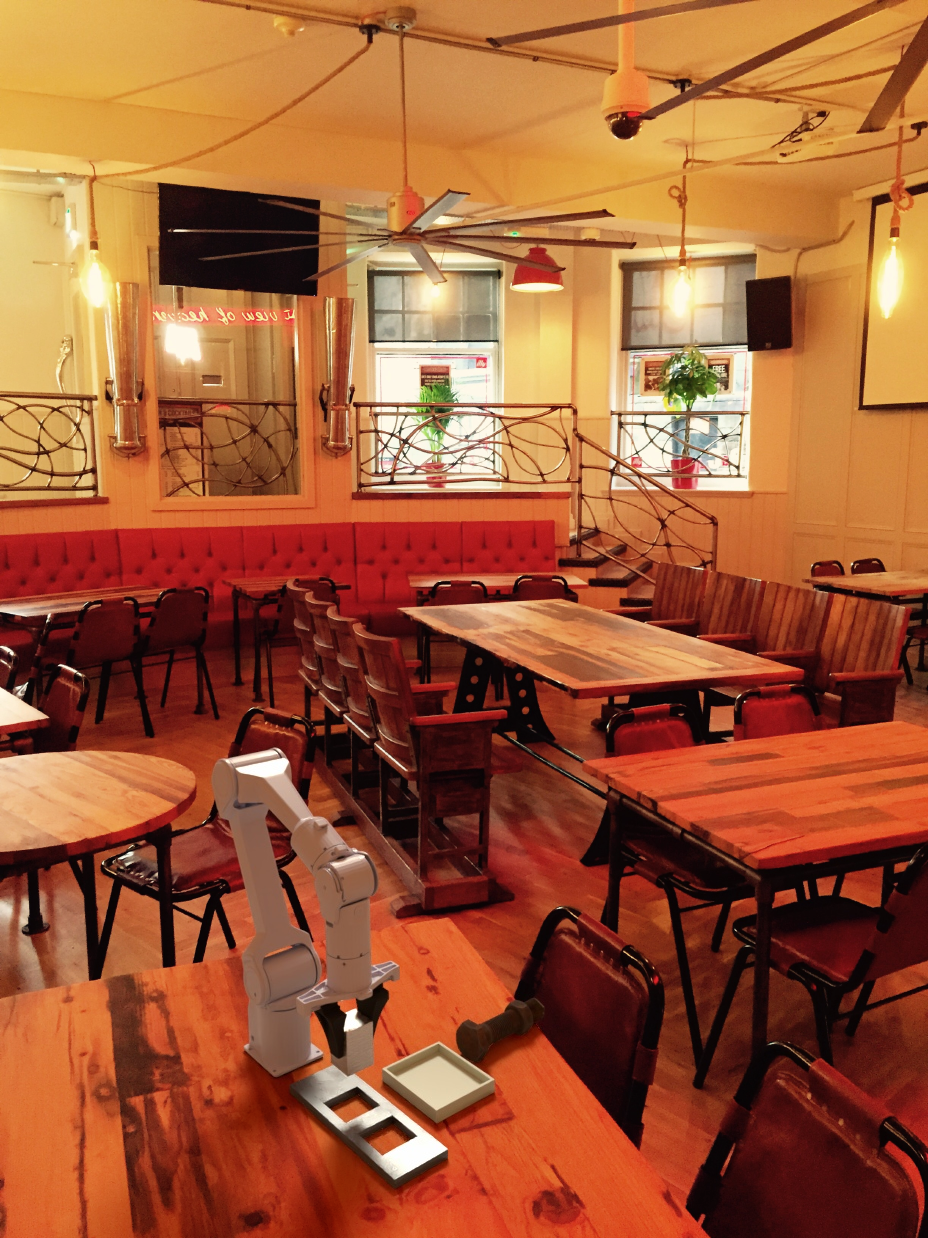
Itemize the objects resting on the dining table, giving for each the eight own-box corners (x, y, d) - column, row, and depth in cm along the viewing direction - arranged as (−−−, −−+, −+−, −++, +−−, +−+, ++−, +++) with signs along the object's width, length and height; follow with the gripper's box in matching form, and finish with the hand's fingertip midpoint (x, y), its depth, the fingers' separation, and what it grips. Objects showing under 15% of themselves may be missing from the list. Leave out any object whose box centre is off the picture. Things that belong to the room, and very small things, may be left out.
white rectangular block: (330, 1063, 127) (329, 1019, 126) (356, 1051, 129) (355, 1009, 128) (347, 1077, 124) (346, 1032, 123) (373, 1064, 126) (372, 1021, 125)
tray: (382, 1081, 134) (382, 1068, 134) (439, 1053, 141) (438, 1041, 140) (436, 1123, 125) (436, 1110, 125) (494, 1092, 131) (494, 1079, 131)
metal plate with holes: (289, 1093, 132) (289, 1085, 132) (340, 1070, 137) (339, 1062, 137) (394, 1189, 114) (394, 1180, 113) (448, 1158, 119) (448, 1149, 118)
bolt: (541, 1033, 149) (470, 1071, 139) (521, 1006, 152) (450, 1042, 141) (556, 1008, 146) (485, 1045, 136) (535, 982, 149) (464, 1016, 139)
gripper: (315, 979, 117) (319, 1084, 119) (412, 942, 126) (414, 1040, 128) (286, 958, 122) (290, 1059, 124) (381, 924, 131) (383, 1018, 133)
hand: (351, 1048), depth 126 cm, fingers closed on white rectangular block, 4 cm apart
